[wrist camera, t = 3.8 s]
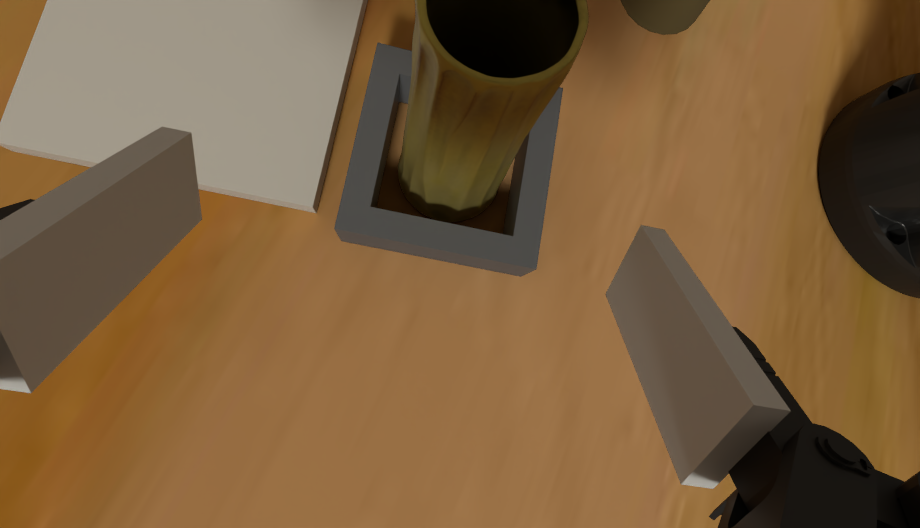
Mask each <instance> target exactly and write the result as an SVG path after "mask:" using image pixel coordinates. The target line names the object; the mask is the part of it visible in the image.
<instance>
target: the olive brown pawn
mask: <svg viewBox="0 0 920 528" xmlns="http://www.w3.org/2000/svg"><path fill="white" fill-rule="evenodd" d="M709 1H710V0H621V2H622V4H623V6H624V8H625V10H626V11H627V13H628V15H629V16H630V17H631V18H632V19H633V20H634V21H635V22H636V23H637V24H638V25H640V26H642V27H643V28H645V29H647V30H649V31H651V32H655V33H659V34H663V35H665V34H677V33H679V32H681V31H684V30H686V29H687V28H689V27H690V26H691V25H692V24H693V23H694V22H695V21H696V19H697V18H698V16H699V15H700V14H701V12H702V11H703V9H704V8H705V7H706V5H707V4H708V2H709Z"/></svg>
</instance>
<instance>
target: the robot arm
mask: <svg viewBox="0 0 920 528" xmlns="http://www.w3.org/2000/svg"><path fill="white" fill-rule="evenodd" d="M819 180H820V189H821V194H822V199H823V203H824V206H825V210H826V212H827V215H828V218H829V220H830V223H831V225H832V227H833V229H834V231H835V233H836V235H837V236H838V238H839V240H840V241H841V243H842V244H843V246H844V247H845V249H846V250H847V251H848V253H849V254H850V255H851V256H852V257H853V259H854V260H855V261H856V262H857V263H858V264H859V265H860V266H861V267H862V268H863V269H864V270H865V271H866V272H868V273H869V274H870V275H871V276H872V277H874V278H875V279H877V280H878V281H879V282H881V283H883V284H884V285H886V286H888V287H889V288H891V289H893V290H895V291H898V292H900V293H902V294H905V295H908V296H912V297H916V298H920V73H917V74H912V75H908V76H905V77H901V78H899V79H896V80H893V81H891V82H889V83H887V84H885V85H883V86H881V87H879V88H877V89H875V90H873V91H871V92H869V93H867V94H865V95H863V96H861V97H859V98H857V99H856V100H854V101H852V102H851V103H850V104H848V105H847V106H846V107H845V108H844V109H843V110H842V111H841V112H840V113H839V114H838V115H837V116H836V118H835V119H834V121H833V122H832V124H831V125H830V127H829V129H828V131H827V134H826V136H825V138H824V142H823V145H822V149H821V154H820V163H819ZM201 220H202V215H201V206H200V198H199V190H198V182H197V174H196V166H195V157H194V149H193V141H192V133H191V132H186V131H182V130H177V129H172V128H167V127H160V128H158V129H157V130H155V131H153V132H152V133H150V134H148V135H146V136H145V137H143V138H141V139H140V140H138V141H136V142H134V143H133V144H131V145H129V146H127V147H126V148H124V149H122V150H121V151H119V152H117V153H115V154H114V155H112V156H110V157H109V158H107V159H105V160H103V161H102V162H100V163H98V164H96V165H95V166H93V167H91V168H90V169H88V170H86V171H84V172H83V173H81V174H79V175H78V176H76V177H74V178H72V179H71V180H69V181H67V182H65V183H64V184H62V185H60V186H59V187H57V188H55V189H53V190H52V191H50V192H48V193H47V194H45V195H43V196H41V197H40V198H38V199H36V200H32V199H29V200H26V201H23V202H19V203H16V204H13V205H10V206H6V207H3V208H0V389H6V390H13V391H20V392H27V393H32V392H33V391H34V390H35V389H36V388H37V387H38V385H39V384H40V383H41V382H42V381H43V380H44V379H45V378H46V377H47V376H48V375H49V374H50V373H51V372H52V371H53V370H54V369H55V368H56V367H57V366H58V365H59V364H60V363H61V362H62V361H63V360H64V359H65V358H66V357H67V356H68V355H69V354H70V353H71V352H72V351H73V350H74V349H75V348H76V347H77V346H78V345H79V344H80V343H81V342H82V341H83V340H84V339H85V338H86V337H87V336H88V335H89V334H90V333H91V332H92V331H93V330H94V329H95V328H96V326H97V325H98V324H99V323H100V322H101V321H102V320H103V319H104V318H105V317H106V316H107V315H108V314H109V313H110V312H111V311H112V310H113V309H114V308H115V307H116V306H117V305H118V304H119V303H120V302H121V301H122V300H123V299H124V298H125V297H126V296H127V295H128V294H129V293H130V292H131V291H132V290H133V289H134V288H135V287H136V286H137V285H138V284H139V283H140V282H141V281H142V280H143V279H144V278H145V277H146V276H147V275H148V274H149V273H150V272H151V271H152V270H153V269H154V268H155V266H156V265H157V264H158V263H159V262H160V261H161V260H162V259H163V258H164V257H165V256H166V255H167V254H168V253H169V252H170V251H171V250H172V249H173V248H174V247H175V246H176V245H177V244H178V243H179V242H180V241H181V240H182V239H183V238H184V237H185V236H186V235H187V234H188V233H189V232H190V231H191V230H192V229H193V228H194V227H195V226H196V225H197V224H198V223H199V222H200V221H201ZM606 297H607V299H608V302H609V304H610V307H611V309H612V312H613V314H614V317H615V319H616V322H617V324H618V327H619V329H620V332H621V334H622V337H623V340H624V342H625V345H626V347H627V350H628V352H629V355H630V357H631V360H632V362H633V365H634V367H635V370H636V372H637V375H638V377H639V380H640V382H641V385H642V387H643V390H644V392H645V395H646V397H647V400H648V402H649V405H650V407H651V410H652V412H653V415H654V417H655V420H656V422H657V425H658V428H659V430H660V433H661V435H662V438H663V440H664V443H665V445H666V448H667V450H668V453H669V455H670V458H671V460H672V463H673V465H674V468H675V470H676V473H677V475H678V478H679V480H680V483H681V484H683V485H690V486H697V487H704V488H711V489H714V488H715V487H716V486H717V485H718V484H719V483H720V482H721V481H722V480H723V479H724V478H725V477H726V476H727V475H728V474H730V476H731V478H732V480H733V482H734V484H735V486H736V488H737V489H736V490H735V491H734V492H733V493H732V494H731V495H730V496H729V497H728V498H727V499H726V500H725V501H723V502H722V503H721V504H720V505H719V506H718V507H717V508H716V509H715V510H714V511H713V512H712V513H711V515H710V516H709V517H710V518H711V519H713V520H715V519H716V518H717V517H718V516H719V515H722V517H721V520H720V523H719V525H718V528H920V472H918V473H917V474H915V475H914V476H912V477H911V478H910V479H908V480H907V481H905V482H904V481H901V480H899V479H897V478H894V477H892V476H889V475H887V474H885V473H882V472H880V471H877V470H875V469H874V467H873V466H872V464H871V463H870V461H869V460H868V458H867V457H866V455H864V454H863V453H862V452H861V451H860V450H859V449H858V448H857V447H856V446H855V445H854V444H853V443H852V442H850V441H849V440H848V439H846V438H845V437H844V436H842V435H841V434H839V433H837V432H835V431H833V430H831V429H829V428H827V427H825V426H821V425H817V424H812V422H811V421H810V419H809V418H808V417H807V415H806V414H805V413H804V411H803V410H802V408H801V407H800V406H799V404H798V403H797V402H796V400H795V399H794V397H793V396H792V395H791V393H790V392H789V390H788V389H787V388H786V386H785V385H784V384H783V382H782V381H781V379H780V378H779V377H778V376H775V374H776V373H775V371H774V370H773V368H772V367H771V366H770V364H769V363H767V362H766V359H765V357H764V356H763V355H762V353H761V352H760V351H759V349H758V348H757V346H756V345H755V344H754V343H753V342H752V341H751V340H750V339H749V338H748V337H747V336H746V335H744V334H743V333H742V332H741V331H740V330H739V329H738V328H737V327H732V326H731V325H730V323H729V322H728V320H727V319H726V317H725V316H724V315H723V313H722V312H721V310H720V309H719V307H718V306H717V304H716V303H715V302H714V300H713V299H712V297H711V296H710V294H709V293H708V292H707V290H706V289H705V287H704V286H703V284H702V283H701V282H700V280H699V279H698V277H697V276H696V274H695V273H694V272H693V270H692V269H691V267H690V266H689V264H688V263H687V262H686V260H685V259H684V257H683V256H682V254H681V253H680V252H679V250H678V249H677V247H676V246H675V244H674V243H673V241H672V240H671V239H670V237H669V236H668V234H667V233H666V231H665V230H663V229H658V228H653V227H648V226H643V225H641V226H640V228H639V230H638V232H637V234H636V236H635V238H634V240H633V242H632V243H631V245H630V247H629V249H628V251H627V253H626V255H625V257H624V259H623V261H622V263H621V265H620V267H619V269H618V271H617V273H616V275H615V277H614V279H613V281H612V283H611V284H610V286H609V288H608V290H607V292H606Z"/></svg>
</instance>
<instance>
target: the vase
mask: <svg viewBox="0 0 920 528" xmlns="http://www.w3.org/2000/svg"><path fill="white" fill-rule="evenodd" d="M587 27H588V6H587V1H586V0H415V27H414V32H413V41H412V74H411V85H410V92H409V99H408V111H407V118H406V124H405V130H404V138H403V146H402V153H401V156H400V159H399V163H398V177H399V182H400V186H401V189H402V191H403V193H404V195H405V197H406V198H407V200H408V201H409V202H410V203H411V204H412V205H413V206H414V207H415V208H416V209H417V210H418V211H419V212H421V213H422V214H424V215H426V216H428V217H430V218H433V219H435V220H439V221H445V222H459V221H463V220H467V219H470V218H472V217H475V216H477V215H478V214H480V213H481V212H483V211H484V210H485V209H486V208H487V207H488V206H489V205H490V204H491V202H492V201H493V200H494V198H495V196H496V193H497V190H498V187H499V185H500V184H501V182H502V181H503V179H504V177H505V175H506V173H507V171H508V169H509V167H510V165H511V163H512V161H513V159H514V158H515V156H516V154H517V152H518V150H519V148H520V146H521V144H522V142H523V140H524V139H525V137H526V136H527V135H528V133H529V132H530V130H531V129H532V127H533V126H534V124H535V123H536V121H537V120H538V118H539V117H540V115H541V113H542V112H543V110H544V109H545V108H546V106H547V105H548V103H549V102H550V100H551V99H552V97H553V96H554V94H555V93H556V91H557V90H558V88H559V87H560V85H561V84H562V82H563V81H564V79H565V77H566V76H567V74H568V73H569V71H570V69H571V67H572V65H573V62H574V60H575V58H576V57H577V55H578V52H579V50H580V47H581V45H582V42H583V40H584V37H585V34H586V31H587Z"/></svg>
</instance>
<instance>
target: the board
mask: <svg viewBox="0 0 920 528" xmlns="http://www.w3.org/2000/svg"><path fill="white" fill-rule="evenodd" d="M367 1H368V0H47V3H46V5H45V8H44V10H43V13H42V16H41V18H40V21H39V23H38V26H37V29H36V31H35V34H34V36H33V39H32V42H31V44H30V47H29V49H28V52H27V55H26V57H25V60H24V62H23V65H22V68H21V70H20V73H19V75H18V78H17V80H16V83H15V86H14V88H13V91H12V93H11V96H10V99H9V101H8V104H7V106H6V109H5V112H4V114H3V117H2V119H1V122H0V145H1V146H3V147H5V148H7V149H9V150H11V151H14V152H19V153H24V154H29V155H34V156H39V157H43V158H48V159H53V160H58V161H63V162H68V163H73V164H78V165H83V166H88V167H93V166H95V165H96V164H98V163H100V162H102V161H103V160H105V159H107V158H109V157H110V156H112V155H114V154H115V153H117V152H119V151H121V150H122V149H124V148H126V147H127V146H129V145H131V144H133V143H134V142H136V141H138V140H140V139H141V138H143V137H145V136H146V135H148V134H150V133H152V132H153V131H155V130H157V129H158V128H160V127H167V128H172V129H177V130H182V131H186V132H191V133H192V141H193V149H194V157H195V166H196V174H197V182H198V189H201V190H206V191H211V192H215V193H220V194H225V195H230V196H235V197H240V198H245V199H250V200H255V201H260V202H265V203H270V204H274V205H279V206H284V207H289V208H294V209H299V210H304V211H309V212H314V213H317V209H318V204H319V200H320V196H321V192H322V188H323V184H324V180H325V175H326V171H327V167H328V163H329V159H330V155H331V150H332V146H333V142H334V138H335V134H336V130H337V126H338V121H339V117H340V113H341V109H342V105H343V101H344V97H345V92H346V88H347V84H348V80H349V76H350V72H351V68H352V63H353V59H354V55H355V51H356V47H357V43H358V39H359V34H360V30H361V26H362V22H363V18H364V14H365V10H366V5H367Z"/></svg>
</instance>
